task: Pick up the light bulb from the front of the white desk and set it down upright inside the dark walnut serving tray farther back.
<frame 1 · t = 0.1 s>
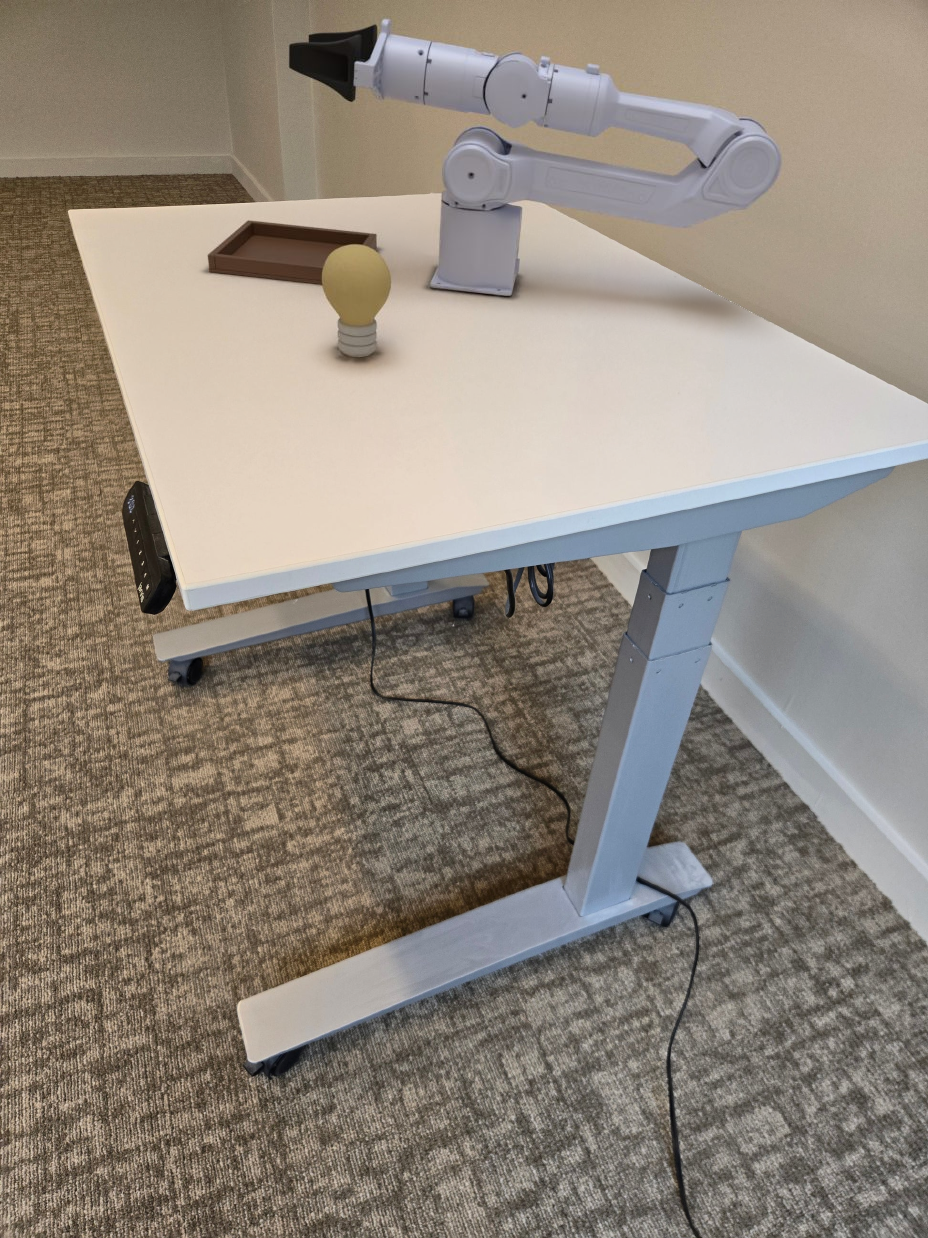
hand: (299, 50, 90), 22 cm above the table, tool horizontal, fingers open, 7 cm apart
tray: (297, 260, 105), on the table
light bulb: (357, 354, 85), on the table
pill bottle: (470, 233, 119), on the table
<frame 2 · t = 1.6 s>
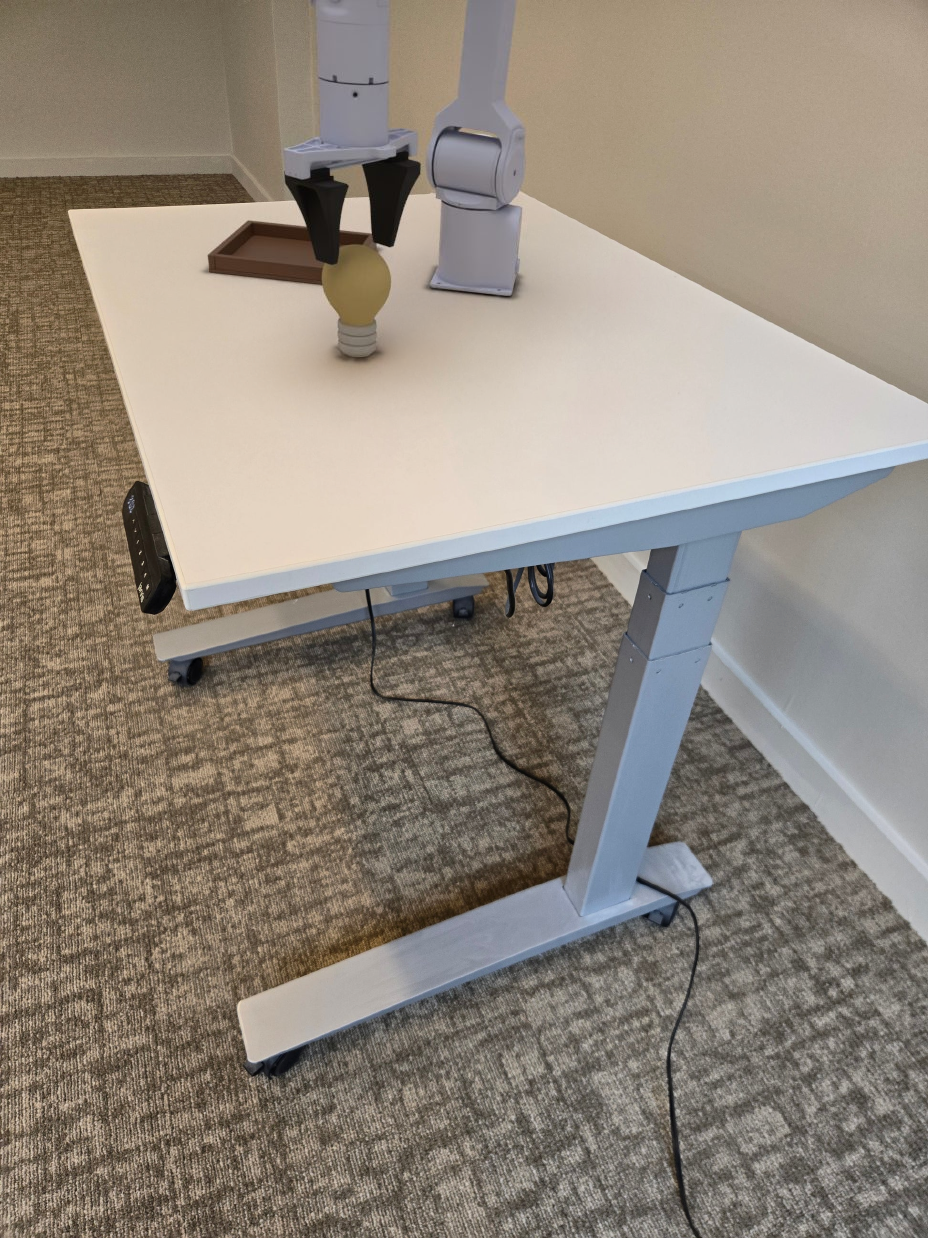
hand: (355, 252, 79), 9 cm above the table, tool pointing down, fingers open, 7 cm apart
nothing on the table moved.
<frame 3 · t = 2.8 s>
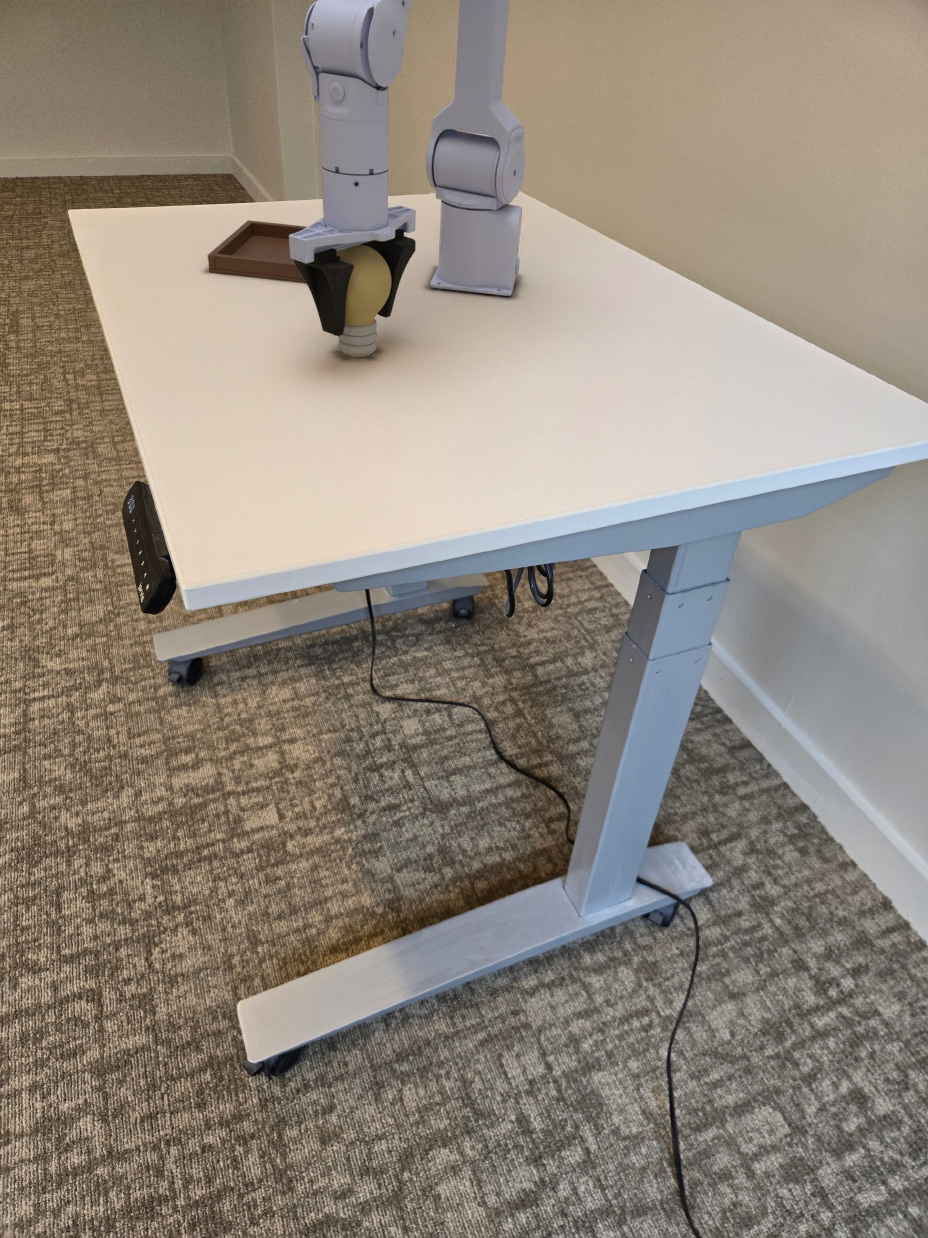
hand: (357, 323, 83), 3 cm above the table, tool pointing down, fingers closed on light bulb, 6 cm apart
light bulb: (357, 354, 85), on the table, touching gripper
everything else where it was.
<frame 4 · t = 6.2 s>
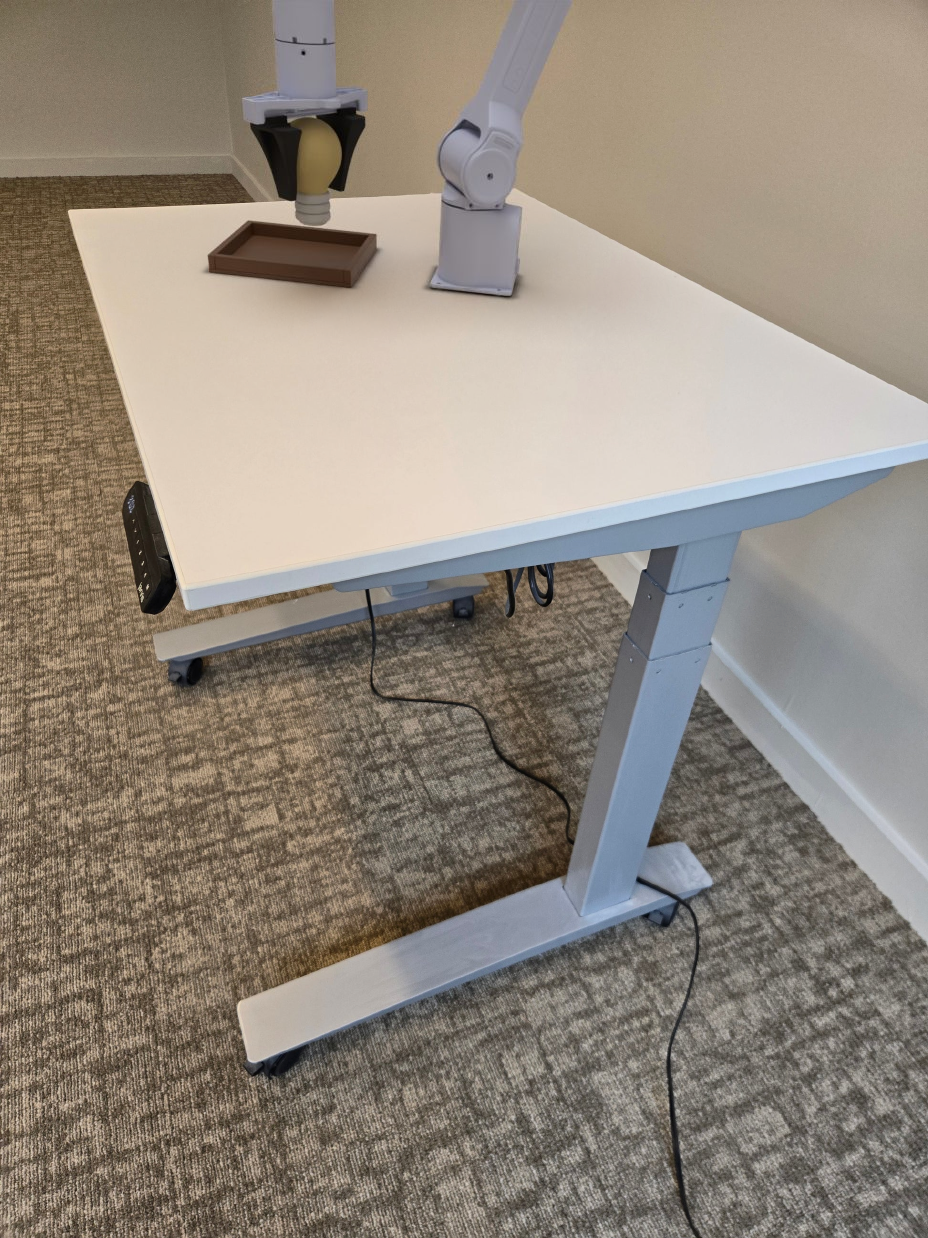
hand: (311, 193, 92), 10 cm above the table, tool pointing down, fingers closed on light bulb, 6 cm apart
light bulb: (313, 224, 94), point 7 cm above the table, touching gripper
everything else where it was.
when the fingers open (3 cm above the table, at t = 9.8 s): light bulb stays where it is, resting on tray.
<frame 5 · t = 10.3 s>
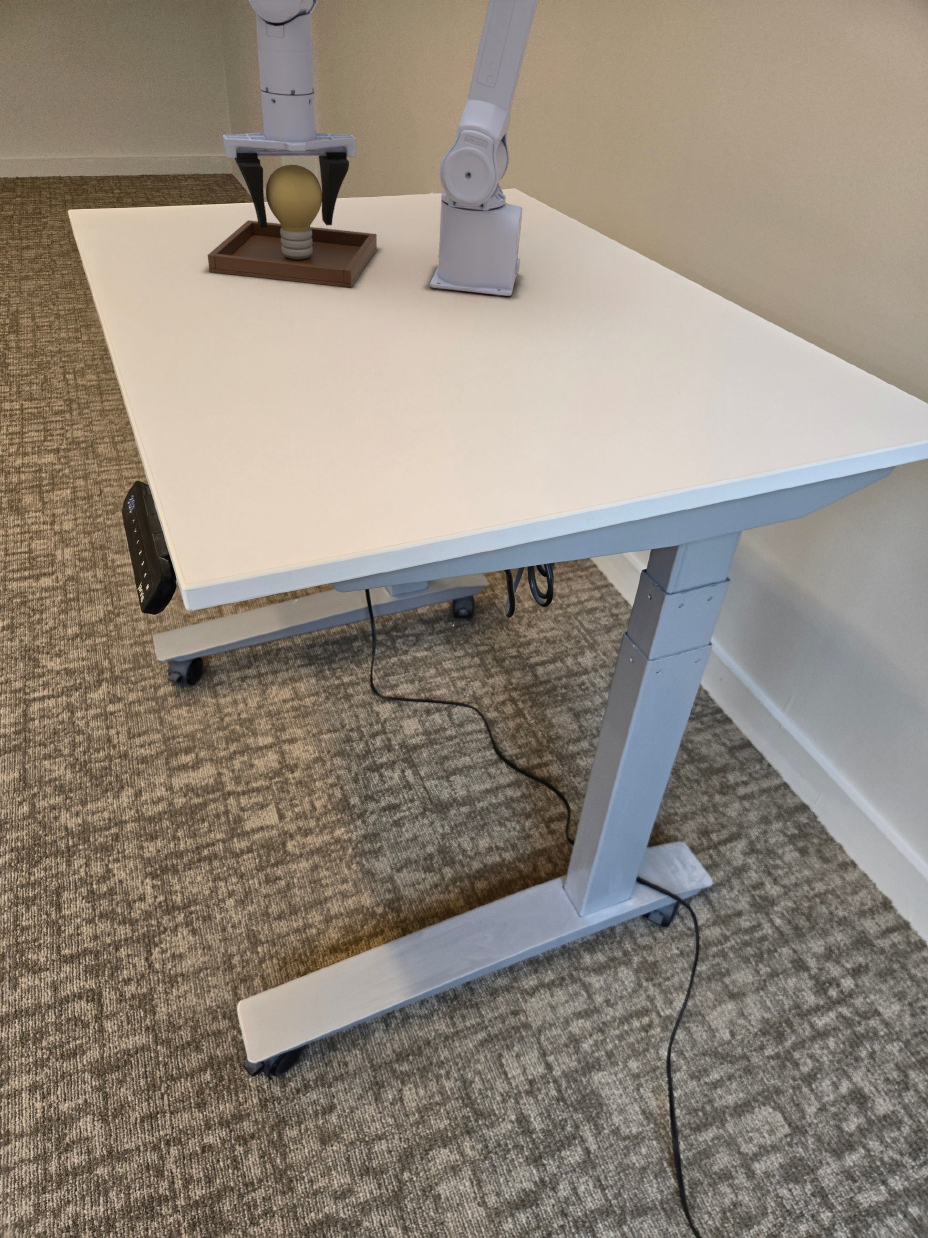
hand: (295, 223, 102), 4 cm above the table, tool pointing down, fingers open, 7 cm apart
light bulb: (297, 258, 105), resting on tray
everything else where it was.
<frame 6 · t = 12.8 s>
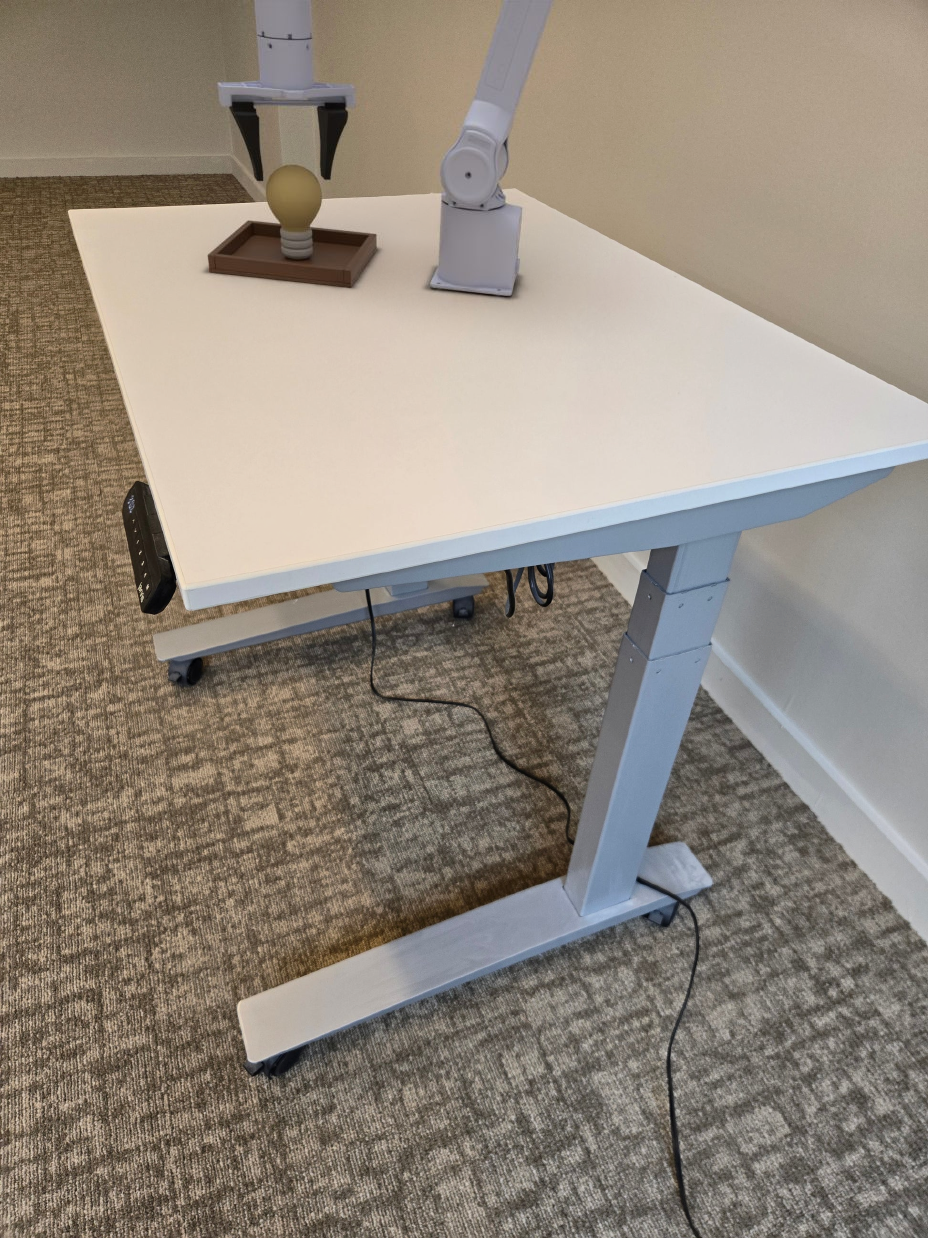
hand: (292, 178, 99), 9 cm above the table, tool pointing down, fingers open, 7 cm apart
nothing on the table moved.
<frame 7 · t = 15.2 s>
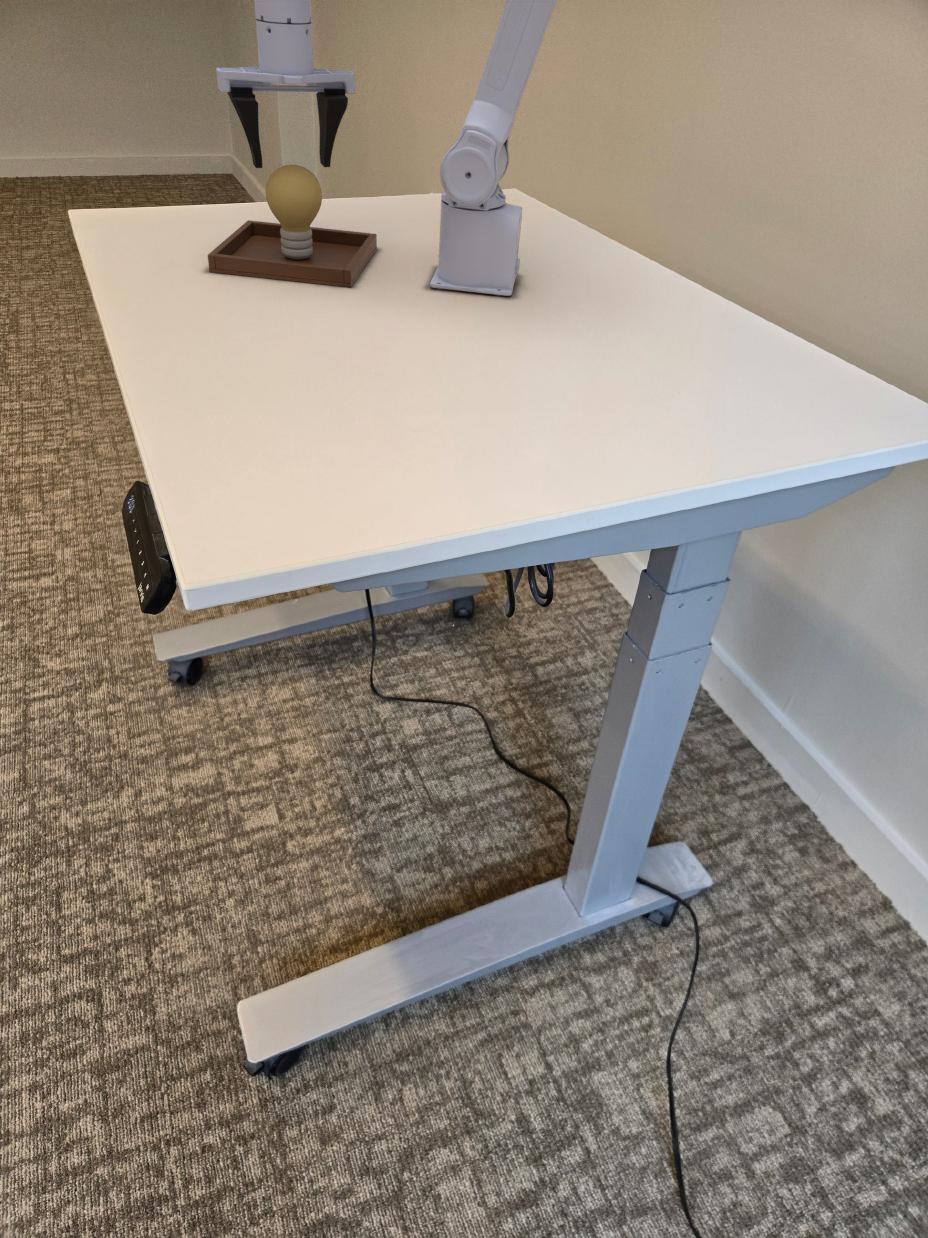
hand: (291, 165, 98), 10 cm above the table, tool pointing down, fingers open, 7 cm apart
nothing on the table moved.
at the end: light bulb inside the target area in the tray (0.1 cm from its centre), point 0.2 cm above the tray's base; light bulb tilted 0°; the gripper is holding nothing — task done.
